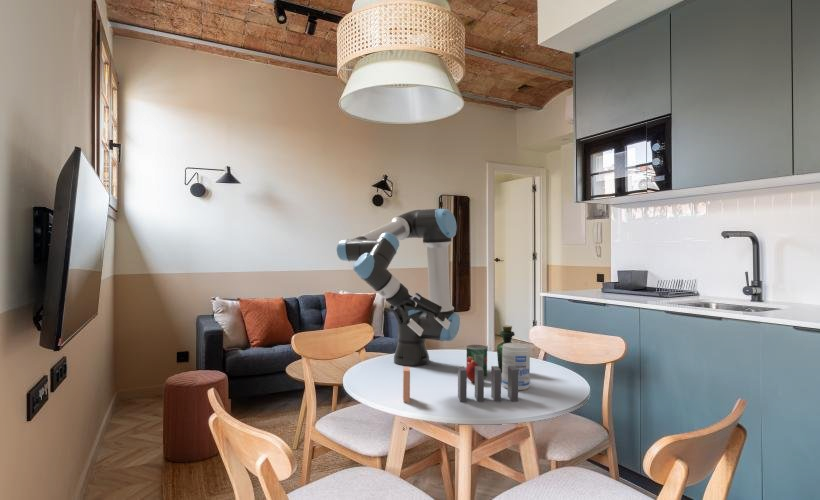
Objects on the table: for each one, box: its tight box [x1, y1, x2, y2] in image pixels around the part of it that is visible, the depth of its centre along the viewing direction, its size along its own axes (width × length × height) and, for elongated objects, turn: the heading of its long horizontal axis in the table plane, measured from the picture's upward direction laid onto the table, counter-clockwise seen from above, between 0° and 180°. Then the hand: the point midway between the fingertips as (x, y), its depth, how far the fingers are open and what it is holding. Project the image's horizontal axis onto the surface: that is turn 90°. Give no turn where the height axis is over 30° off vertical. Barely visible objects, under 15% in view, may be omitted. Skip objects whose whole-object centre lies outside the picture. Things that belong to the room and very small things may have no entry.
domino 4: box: [507, 366, 519, 402], centre depth 151 cm, size 2×5×10 cm, turn 3°
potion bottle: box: [496, 325, 515, 374], centre depth 184 cm, size 8×8×18 cm
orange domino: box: [402, 366, 411, 402], centre depth 149 cm, size 2×5×10 cm, turn 3°
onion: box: [465, 360, 478, 383], centre depth 170 cm, size 6×6×8 cm
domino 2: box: [474, 366, 485, 403], centre depth 150 cm, size 2×5×10 cm, turn 3°
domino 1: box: [457, 365, 468, 403], centre depth 150 cm, size 2×5×10 cm, turn 3°
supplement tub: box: [501, 342, 531, 391], centre depth 164 cm, size 10×10×15 cm
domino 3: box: [490, 365, 502, 403], centre depth 151 cm, size 2×5×10 cm, turn 3°
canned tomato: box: [466, 344, 488, 379], centre depth 179 cm, size 8×8×11 cm
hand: (434, 329), depth 161 cm, fingers open, 13 cm apart
